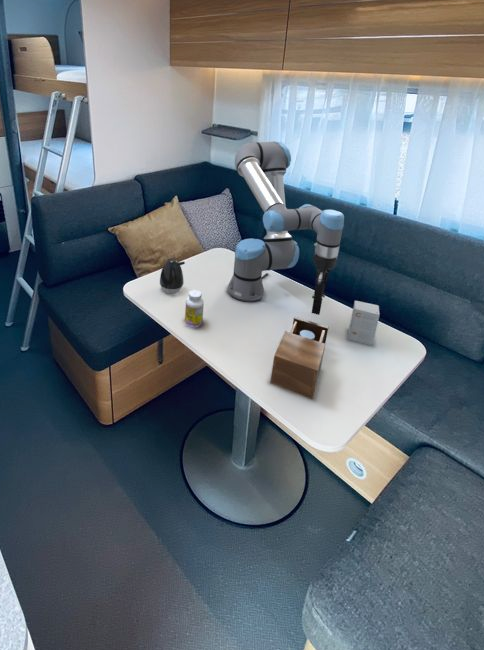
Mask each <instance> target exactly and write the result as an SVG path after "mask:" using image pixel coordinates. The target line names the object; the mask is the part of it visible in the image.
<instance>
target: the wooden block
mask: <svg viewBox="0 0 484 650" xmlns="http://www.w3.org/2000/svg"><path fill="white" fill-rule="evenodd" d="M325 348H326V343H325V344H324V343H321V342H318V341H315V340H312V339H309V338H305V337H302V336H299V335H296V334H293V333H290V331H286V330H285V331H284V333H283V335H282V337H281V339H280V342H279V343H278V346H277V349H276V351H275V353H274V356H273V361H272V362H273V363H272V368H271V374H270V375H271V376H270V382H269V384H271V385H274V386H277V387H280V388H281V389H285V390H287V391H289V392H293V393H295V394H298V395H301V396H303V397H306V398H308V399H311V400H313V398H314V395H315V392H316V388H317V384H318V381H319V378H320V373H321V371H322V364H323V358H324V354H325V350H326V349H325Z"/></svg>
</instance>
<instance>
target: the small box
mask: <svg viewBox="0 0 484 650" xmlns="http://www.w3.org/2000/svg"><path fill="white" fill-rule="evenodd" d="M379 319H380V306H379V305H378V304H373V303H368V302H364V301H359V300H354V302H353V307H352V312H351V317H350V322H349V327H348V340H349V341H354V342H357V343H361V344H366V345H369V346H373V344H374V340H375V337H376V333H377V328H378V323H379Z"/></svg>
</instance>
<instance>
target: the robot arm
mask: <svg viewBox="0 0 484 650" xmlns="http://www.w3.org/2000/svg"><path fill="white" fill-rule="evenodd" d="M291 162H292V153H291V151H290V147H288V145H286V143H284V142H283V141H275V140H274V141H252V142H247V143H245V144H243V145H241V146H240V148H239V149H238V150H237V151H236V154H235V157H234V167H235V169H236V172H237V173H238V175H239V176H240V177H242V178H243V179H244V180H245V182H246V184H247V186H248V187H249V189H250V190H251V192H252V194H253V196H254V197H255V199H256V201H257V202H258V204H259V206H260V208H261V209H262V211H263V213H264V214H263V215H262V223H263V227H264V229H265V230H266V235H265V236H264V237H263V240H262V239H259V238H253V237H252V238H245V239H242V240H240V241H239V242H238V243H237V244H236V246H235V251H234V263H233V265H234V266H233V274H232V276H231V279H230V281H229V282H228V285H227V293H228V295H229V296H230V297H232V298H233V299H235V300H238V301H240V302H245V303H254V302H258V301H260V300H261V299H263V298H264V294H265V287H264V284H263V279H264V278H266V277H267V276H268V275H269V273H268V272H266V271H276V270H286V269H291V268H293V267H295V266H296V264H297V263H298V261H299V257H300V248H299V247H300V246H299V245H298V243H297V242H296V241H295V240H293V236H292V235H291V234H290V233H289V232H291V231H300V230H301V231H302V230H311V231H313V232H314V233H315V234H316V241H315V242H314V243H313V246H314V254H313V257H312V258H313V259H312V263H313V265H314V266H315V267H317V269H316V272H315V276H316V277H315V280H314V281H315V284H314V292H313V295H312V296H311V299H313V302H312V307H311V314H313V315H317V316H320V314H321V309H322V303H323V298H325V297H326V294H324V293H325V289H326V283H327V281H328V278H329V274H330V270H333V269H335V268H336V267H337V261H338V256H339V253H340V252H339V251H340V247H341V246H340V245H341V241H342V240H341V239H342V235H343V230H344V227H345V223H344V222H345V215H344V214H343V213H342V212H340V211H338V210H335V209H324V210H321V209H320V208H318V207H317V206H315V205H312V204H309V203H305V204H303V205H301V206H300V207H298V208H288V207H286V195H285V185H284V176H285V174H286V173H287V169H288V168H289V167H290V166H291ZM263 272H266V273H265V274H263ZM262 275H263V276H262Z"/></svg>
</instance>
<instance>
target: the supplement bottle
mask: <svg viewBox="0 0 484 650" xmlns="http://www.w3.org/2000/svg"><path fill="white" fill-rule="evenodd" d="M202 296H203V295H202V292H201V291H200V290H197V289H193V290H190V291H189V292H188V297H187V298H186V299H185V308H184V310H185V311H184V323H185V325H186V326H188V327H190V328H198V327H200V326H201V325H202V324H203V318H204V304H205V302H204V299H203V297H202Z"/></svg>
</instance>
